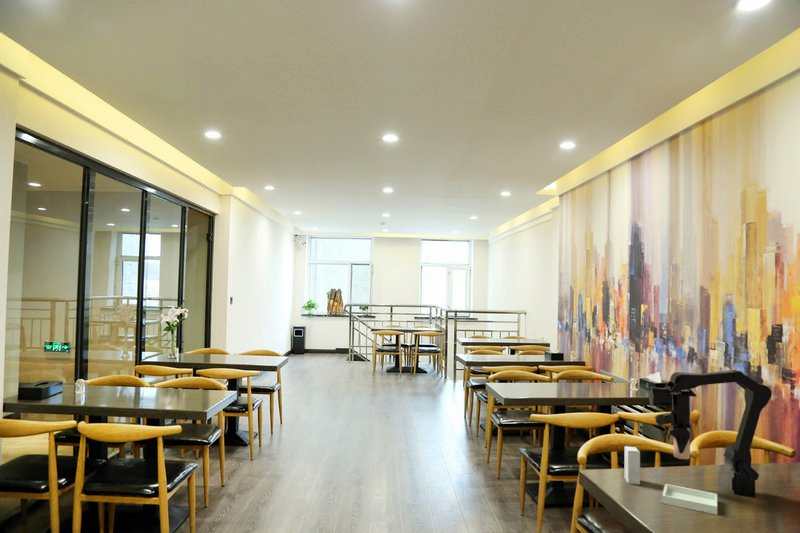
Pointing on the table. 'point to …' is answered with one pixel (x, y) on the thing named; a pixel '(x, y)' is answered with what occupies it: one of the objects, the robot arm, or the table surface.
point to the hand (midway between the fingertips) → (681, 451)
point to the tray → (690, 498)
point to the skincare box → (632, 465)
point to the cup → (681, 455)
